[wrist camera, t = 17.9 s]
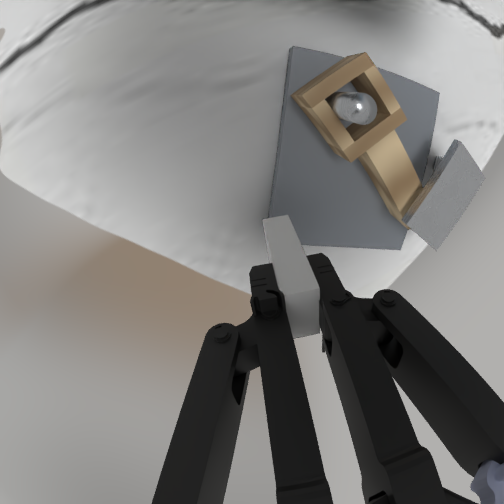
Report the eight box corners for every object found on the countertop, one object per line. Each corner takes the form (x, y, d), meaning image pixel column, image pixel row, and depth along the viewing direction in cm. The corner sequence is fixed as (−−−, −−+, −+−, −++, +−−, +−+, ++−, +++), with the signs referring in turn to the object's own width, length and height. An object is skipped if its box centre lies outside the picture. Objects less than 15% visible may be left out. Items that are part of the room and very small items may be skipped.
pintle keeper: (314, 89, 23) (349, 89, 16) (451, 131, 26) (500, 149, 19) (295, 208, 30) (319, 249, 23) (427, 222, 32) (466, 256, 25)
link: (290, 95, 22) (301, 95, 19) (346, 56, 20) (365, 52, 17) (379, 223, 30) (396, 240, 27) (422, 187, 28) (442, 201, 25)
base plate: (289, 48, 21) (293, 46, 20) (431, 91, 23) (439, 92, 22) (265, 236, 31) (267, 243, 30) (394, 244, 33) (400, 250, 32)
